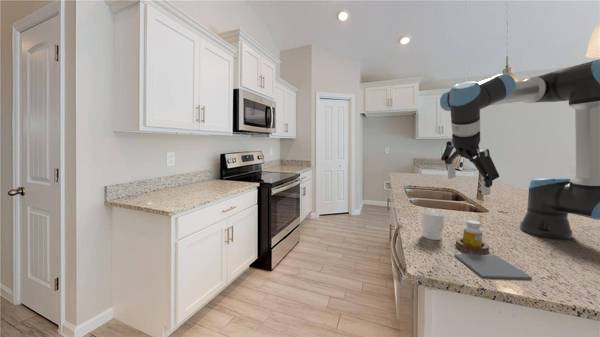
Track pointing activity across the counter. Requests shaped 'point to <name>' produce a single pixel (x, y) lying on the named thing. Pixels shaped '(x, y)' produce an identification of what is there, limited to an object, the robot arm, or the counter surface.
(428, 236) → the white cup
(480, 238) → the supplement bottle
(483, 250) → the collar
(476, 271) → the mat
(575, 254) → the counter surface
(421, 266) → the counter surface
